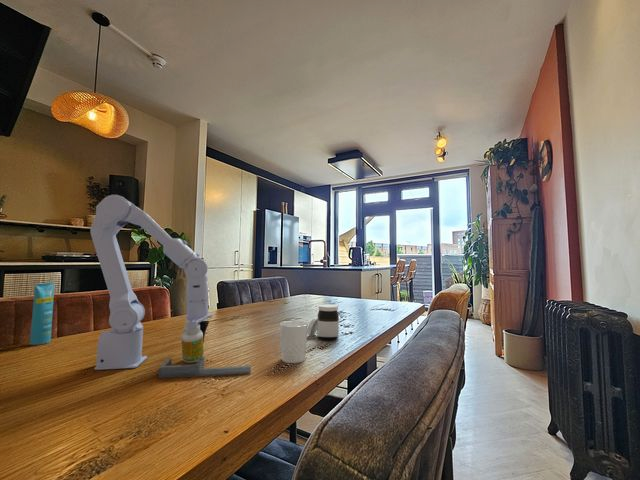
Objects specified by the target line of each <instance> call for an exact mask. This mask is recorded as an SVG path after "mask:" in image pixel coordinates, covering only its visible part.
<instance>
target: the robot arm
mask: <svg viewBox="0 0 640 480" xmlns="http://www.w3.org/2000/svg"><path fill="white" fill-rule="evenodd" d="M95 211H96V212H95V215H94V218H93V221H92V224H91V227H90V236H91V239H92V243H93V246H94V249H95V252H96V253H95V254H96V256H97V259H98V261H99V265H100V268H101V272H102V274H103V278H104V281H105V284H106V288H107V291H108V294H109V297H110V298H109V304H108V308H109V311H110V313H109V318H108V323H109V325H110V327H111V328H110V329H108V330H104V331H102V332H101V333H100V335H99V337H98V340H97V346H96V347H97V348H96V350H97V351H96V362H95V363H96V365H95V367H94V370H95V371H98V370H99V371H100V370H115V369H116V370H118V369H119V370H121V369H136V368H138V366H140V365H141V364H142V363H143V362H144V361H145V360H147V358H148V356H147V355H143V337H144V325H143V324H142V322H141V321H142V320H143V319H144V317H145V314H146V310H145V307H144V304H142V303H141V302H140V301H139V300H138V299H139V298H138V297H137V295H136V293H135V292H134V291H133V288H132V284H131V282H130V278H129V275H128V272H127V268H126V265H125V262H124V259H123V256H122V253H121V248H120V245H119V243H118V239H117V235H118V233H119V232H120V230H122V229H123V227H125V226H126V225H128V224H133V225H136V226H139V227H141V229H143V230H144V231H145V232H147V233H148V234H149V235H150V236H151V237H153V238H154V239H155V241H157V242H158V243H160V245H162V246H163V254H164V255H165V256H166V257H167V258H168V259H170V260H171V261H172V262H173V263H174V264H175V265H176V266H177V267H179V268H180V269H183V272H184V274H185V276H186V286H185V289H186V290H185V291H186V292H185V293H186V294H185V296H186V317H185V320H186V323H188V327H189V329H197V323H199V324H200V330H201V331H202V332H203V345H204V343H205V337H206V332H207V328H208V325H209V323H210V321H209V319H212V318H213V317H214V314H213V313H210V314H209V289H208V288H209V285H208V283H207V281H208V277H207V274H208V273H207V272H208V264H207V262H206V261H205V259H204V258H201V257H200V253H198V252H197V253H196V252H195V251H194V250H193V249H192V248H190V247H189V246H188V242H187V240H185V239H183V240H182V239H181V238H173V237H171V235H170V234H168V233H167V231H165V229H164V228H162V227H161V226H160V225H159V224H158V222H156V221H155V219H153V218H152V217H151V216H150V214H148V213H146V211H144V210H142V209H141V208H140V207H138V206H136V205H135V204H134V203H133V202H131V201H129V200H128V199H126V198H125V197H124V196H121V195H119V194H110V195H107V196H106V197H104V198H103V199H102V200H101V201H100V202H99V203H98V204H96V206H95Z"/></svg>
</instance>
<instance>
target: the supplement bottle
mask: <svg viewBox="0 0 640 480" xmlns="http://www.w3.org/2000/svg"><path fill="white" fill-rule="evenodd" d="M181 352H182V353H181V354H182V355H181V357H182V360H183V362H184V363H187V364H190V363H191V364H194V363H197V362H198V360H199V358H200V357H204V344H203V332H202V331H201V330H200V324H199V323H197V329H189V327H188V322H186V323H185V325H183V333H182V334H181Z"/></svg>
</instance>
